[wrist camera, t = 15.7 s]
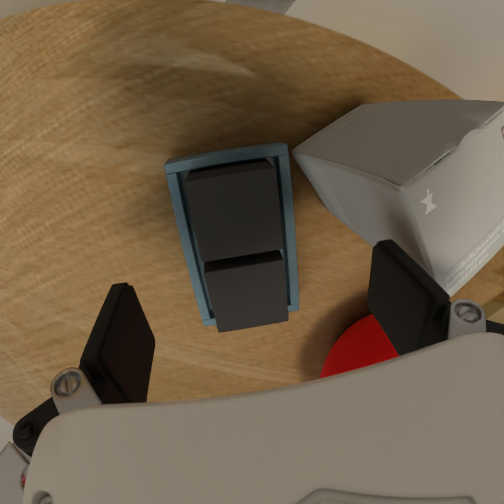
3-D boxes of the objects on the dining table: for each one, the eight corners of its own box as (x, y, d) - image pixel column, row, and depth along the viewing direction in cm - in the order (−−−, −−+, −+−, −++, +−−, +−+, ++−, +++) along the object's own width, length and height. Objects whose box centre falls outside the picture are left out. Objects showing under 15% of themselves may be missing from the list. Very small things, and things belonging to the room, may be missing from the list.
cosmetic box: (325, 209, 25) (434, 325, 11) (282, 141, 22) (392, 196, 8) (397, 161, 24) (536, 227, 10) (363, 92, 21) (519, 100, 7)
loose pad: (189, 170, 22) (184, 181, 18) (266, 158, 22) (276, 167, 19) (203, 240, 25) (201, 262, 21) (273, 228, 25) (283, 249, 21)
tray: (167, 159, 22) (163, 164, 20) (281, 141, 22) (288, 144, 21) (204, 313, 29) (204, 326, 27) (294, 298, 29) (299, 310, 27)
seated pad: (204, 249, 25) (203, 273, 22) (274, 237, 25) (284, 259, 22) (217, 305, 28) (218, 333, 24) (279, 294, 28) (288, 320, 25)
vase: (439, 265, 30) (595, 448, 4) (412, 366, 39) (495, 516, 12) (296, 301, 29) (408, 609, 3) (301, 400, 38) (356, 589, 11)
